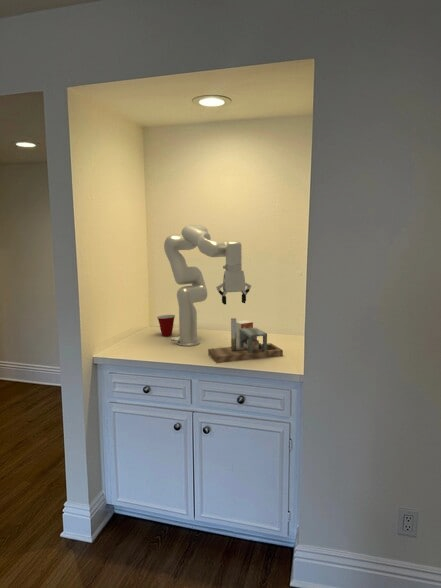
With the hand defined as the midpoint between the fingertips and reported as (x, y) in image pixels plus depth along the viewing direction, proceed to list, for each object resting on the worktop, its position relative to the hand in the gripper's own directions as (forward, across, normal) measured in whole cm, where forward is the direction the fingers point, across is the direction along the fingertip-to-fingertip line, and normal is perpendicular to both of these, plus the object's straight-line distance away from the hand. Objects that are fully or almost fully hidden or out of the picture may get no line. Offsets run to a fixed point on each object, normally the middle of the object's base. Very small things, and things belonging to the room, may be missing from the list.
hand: (234, 303), depth 205 cm
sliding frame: (+23, +6, +1) cm, 24 cm away
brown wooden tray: (+26, +6, +1) cm, 27 cm away
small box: (+26, +12, +19) cm, 34 cm away
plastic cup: (+26, -23, +55) cm, 65 cm away
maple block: (+24, +10, 0) cm, 25 cm away
